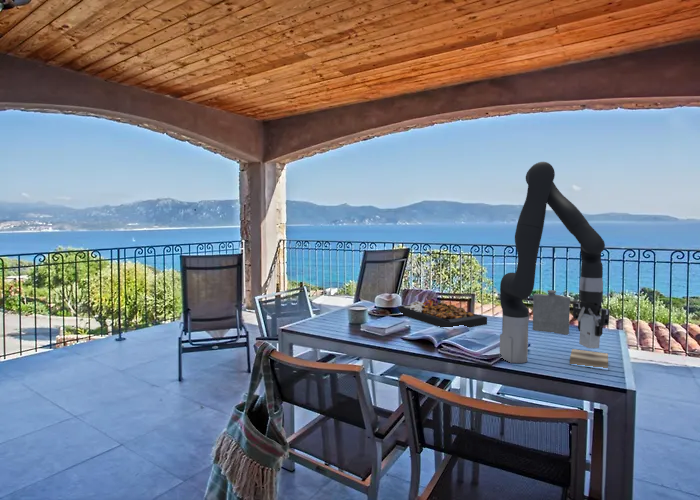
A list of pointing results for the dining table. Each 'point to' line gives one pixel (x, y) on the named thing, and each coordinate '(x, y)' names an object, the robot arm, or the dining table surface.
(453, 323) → the food platter
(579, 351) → the oak stand
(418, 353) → the dining table surface
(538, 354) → the dining table surface
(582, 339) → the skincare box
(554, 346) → the dining table surface
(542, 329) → the hip flask
